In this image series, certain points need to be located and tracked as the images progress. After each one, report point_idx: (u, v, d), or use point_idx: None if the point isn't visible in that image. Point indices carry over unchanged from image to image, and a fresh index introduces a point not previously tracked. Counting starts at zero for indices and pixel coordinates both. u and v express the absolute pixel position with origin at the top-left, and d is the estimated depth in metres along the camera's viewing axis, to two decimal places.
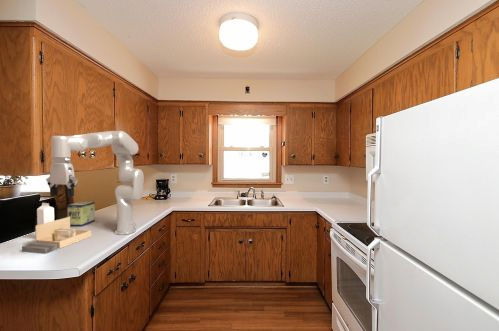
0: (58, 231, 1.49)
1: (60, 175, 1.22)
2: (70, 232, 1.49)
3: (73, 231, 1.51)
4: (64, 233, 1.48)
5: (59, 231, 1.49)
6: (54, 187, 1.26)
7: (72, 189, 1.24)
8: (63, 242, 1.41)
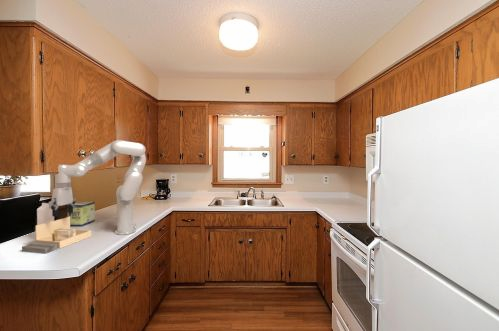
0: (58, 231, 1.49)
1: (69, 196, 1.51)
2: (70, 232, 1.49)
3: (73, 231, 1.51)
4: (64, 233, 1.48)
5: (59, 231, 1.49)
6: None
7: None
8: (63, 242, 1.41)
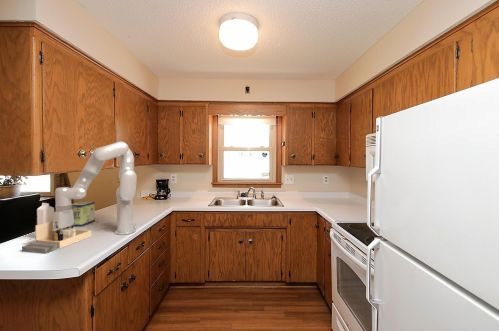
0: None
1: (70, 219, 1.52)
2: (70, 232, 1.49)
3: (73, 231, 1.51)
4: (64, 233, 1.48)
5: None
6: None
7: None
8: (63, 242, 1.41)
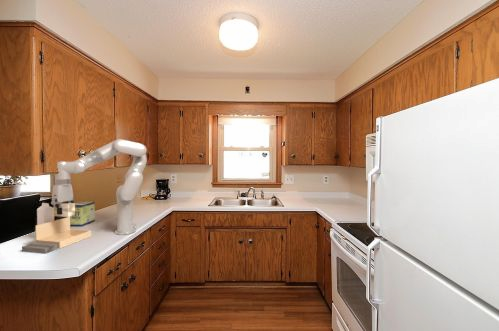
0: None
1: (69, 193, 1.51)
2: (69, 206, 1.48)
3: (72, 205, 1.50)
4: (64, 207, 1.47)
5: None
6: None
7: None
8: (63, 242, 1.41)
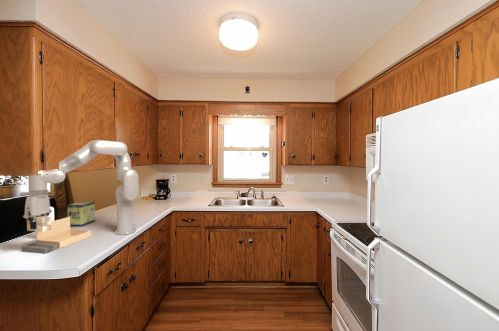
0: None
1: (45, 205, 1.37)
2: (44, 220, 1.33)
3: (48, 219, 1.35)
4: (38, 221, 1.33)
5: None
6: None
7: None
8: (63, 242, 1.41)
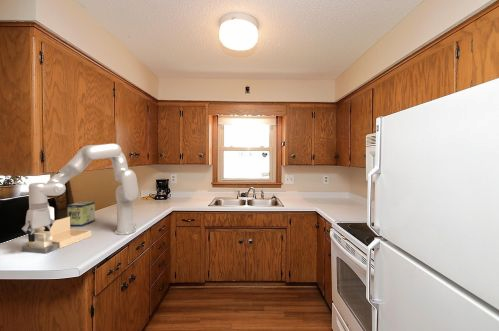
0: None
1: (45, 218, 1.37)
2: (46, 235, 1.34)
3: (49, 234, 1.36)
4: (39, 237, 1.33)
5: None
6: None
7: None
8: (63, 242, 1.41)
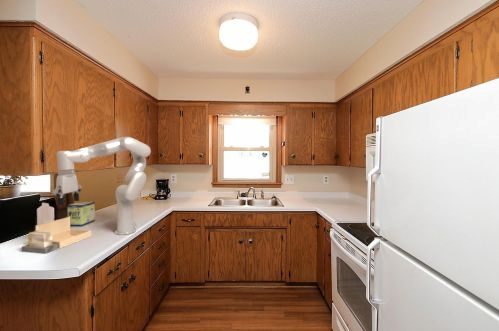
0: (32, 234, 1.34)
1: (73, 184, 1.45)
2: (46, 235, 1.34)
3: (49, 234, 1.36)
4: (39, 237, 1.33)
5: (33, 234, 1.34)
6: None
7: None
8: (63, 242, 1.41)
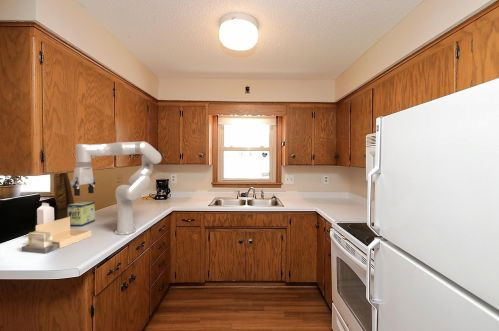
0: (32, 234, 1.34)
1: (89, 176, 1.50)
2: (46, 235, 1.34)
3: (49, 234, 1.36)
4: (39, 237, 1.33)
5: (33, 234, 1.34)
6: None
7: None
8: (63, 242, 1.41)
